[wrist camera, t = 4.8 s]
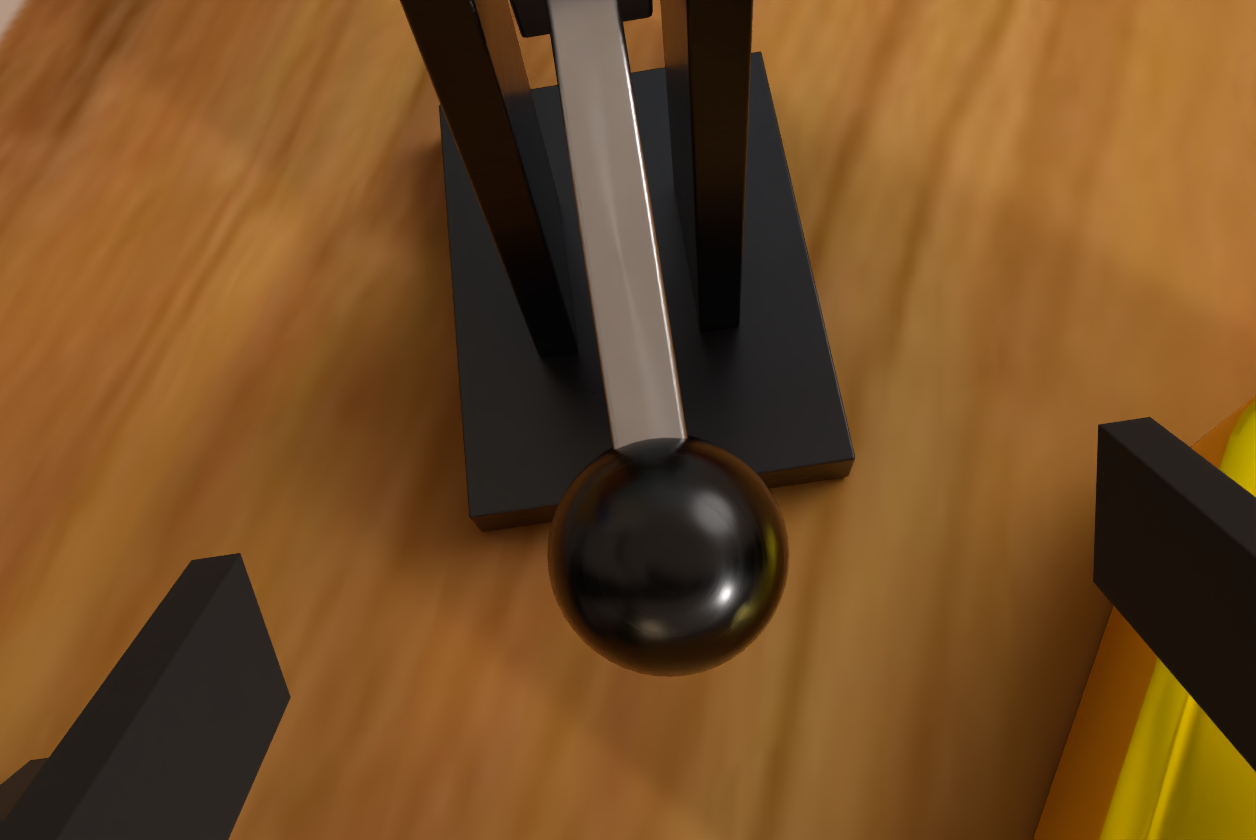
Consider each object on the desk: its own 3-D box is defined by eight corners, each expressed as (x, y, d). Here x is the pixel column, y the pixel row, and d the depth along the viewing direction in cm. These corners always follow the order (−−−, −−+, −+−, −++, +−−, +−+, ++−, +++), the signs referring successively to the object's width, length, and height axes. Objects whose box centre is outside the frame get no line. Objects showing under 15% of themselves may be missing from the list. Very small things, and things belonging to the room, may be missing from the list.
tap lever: (789, 633, 17) (824, 682, 13) (577, 664, 17) (554, 721, 13) (669, -132, 17) (670, -286, 14) (463, -97, 17) (411, -239, 14)
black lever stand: (849, 476, 24) (994, 91, 11) (481, 532, 24) (220, 216, 12) (759, 82, 29) (791, -509, 16) (450, 133, 29) (237, -409, 16)
